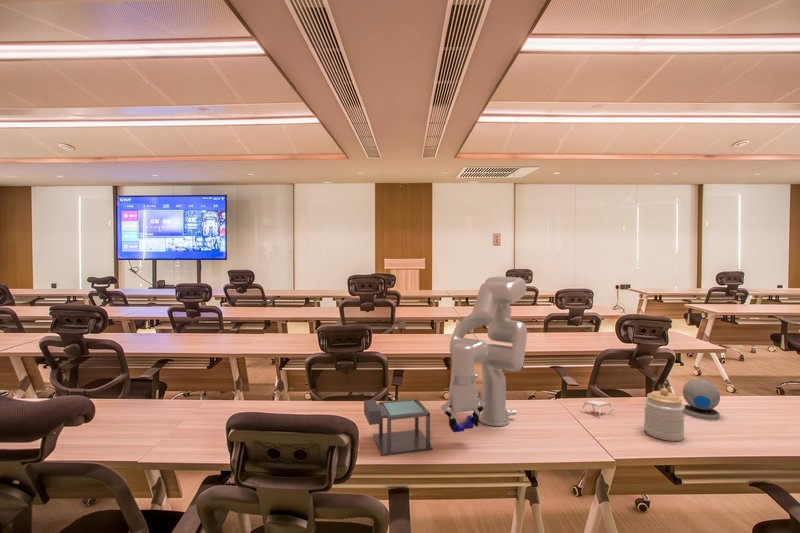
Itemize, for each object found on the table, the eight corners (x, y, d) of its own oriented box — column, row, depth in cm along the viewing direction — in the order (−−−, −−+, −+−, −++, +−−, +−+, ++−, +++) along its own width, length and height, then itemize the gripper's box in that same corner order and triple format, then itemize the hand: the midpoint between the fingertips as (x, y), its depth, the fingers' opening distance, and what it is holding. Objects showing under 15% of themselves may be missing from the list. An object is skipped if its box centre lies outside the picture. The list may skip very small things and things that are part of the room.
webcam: (717, 412, 177) (718, 378, 177) (721, 422, 167) (722, 386, 166) (681, 406, 184) (682, 373, 184) (683, 415, 173) (683, 380, 173)
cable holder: (453, 432, 144) (453, 421, 144) (450, 428, 148) (450, 417, 147) (474, 430, 146) (474, 419, 145) (471, 425, 149) (471, 415, 149)
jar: (689, 444, 147) (690, 395, 147) (649, 439, 151) (650, 392, 151) (677, 429, 160) (677, 384, 159) (639, 425, 164) (640, 381, 163)
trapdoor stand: (419, 431, 158) (419, 398, 158) (432, 449, 143) (433, 413, 142) (373, 436, 153) (373, 402, 153) (381, 456, 138) (381, 418, 138)
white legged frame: (592, 418, 170) (592, 407, 170) (581, 411, 179) (581, 400, 178) (619, 417, 172) (619, 405, 172) (606, 409, 180) (606, 398, 180)
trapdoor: (413, 407, 155) (413, 395, 155) (423, 419, 144) (423, 407, 143) (363, 412, 150) (363, 400, 150) (369, 425, 139) (369, 412, 139)
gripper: (481, 373, 150) (481, 419, 151) (436, 378, 145) (437, 425, 146) (490, 379, 142) (491, 428, 144) (444, 385, 138) (444, 434, 139)
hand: (464, 426), depth 145 cm, fingers closed on cable holder, 8 cm apart
